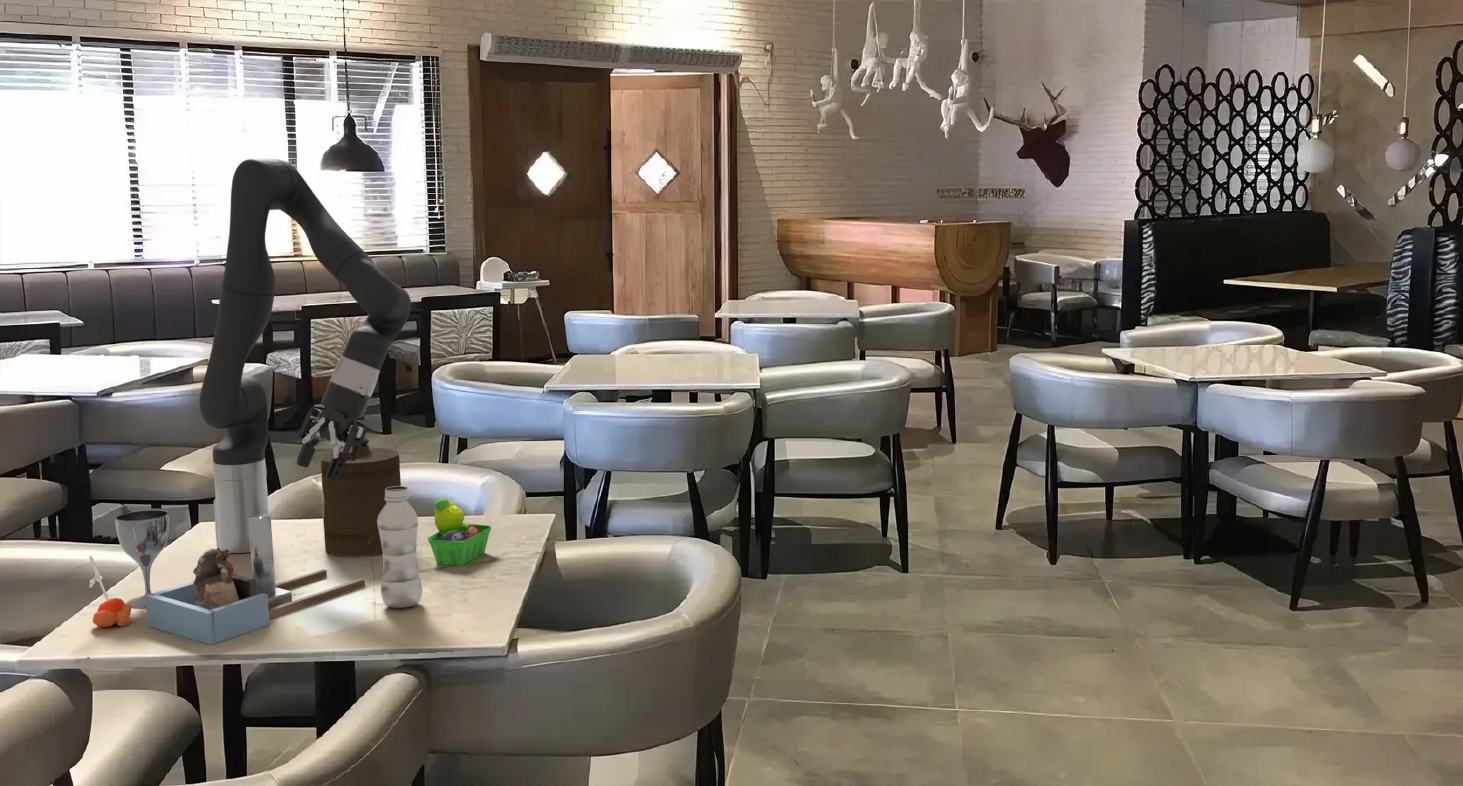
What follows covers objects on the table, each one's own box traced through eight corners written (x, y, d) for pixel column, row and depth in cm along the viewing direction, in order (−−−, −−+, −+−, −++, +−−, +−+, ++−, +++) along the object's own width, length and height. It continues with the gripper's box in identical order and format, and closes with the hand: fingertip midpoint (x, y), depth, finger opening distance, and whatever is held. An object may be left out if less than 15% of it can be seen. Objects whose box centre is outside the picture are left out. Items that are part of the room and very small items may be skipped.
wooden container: (361, 532, 250) (355, 425, 247) (420, 540, 244) (415, 431, 240) (308, 551, 237) (301, 438, 233) (369, 561, 231) (363, 445, 227)
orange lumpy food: (71, 635, 192) (65, 561, 190) (112, 615, 201) (106, 543, 200) (106, 638, 191) (100, 563, 189) (145, 617, 200) (140, 545, 198)
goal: (147, 625, 196) (145, 595, 195) (207, 607, 205) (205, 578, 204) (210, 645, 188) (207, 613, 187) (269, 624, 197) (267, 594, 196)
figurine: (208, 613, 202) (203, 542, 200) (249, 615, 201) (245, 543, 199) (184, 628, 195) (178, 555, 193) (226, 630, 194) (221, 556, 192)
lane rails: (214, 610, 203) (213, 603, 203) (323, 575, 222) (322, 569, 221) (257, 622, 198) (256, 615, 197) (365, 586, 216) (364, 579, 216)
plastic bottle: (412, 613, 202) (406, 494, 198) (374, 611, 203) (368, 492, 200) (429, 601, 208) (424, 485, 205) (392, 598, 209) (386, 483, 206)
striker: (224, 610, 203) (218, 521, 200) (267, 596, 209) (261, 510, 207) (251, 617, 199) (245, 527, 197) (294, 603, 206) (288, 515, 203)
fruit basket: (463, 568, 226) (460, 508, 224) (420, 564, 229) (418, 504, 227) (494, 551, 236) (492, 494, 235) (453, 547, 239) (451, 490, 237)
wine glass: (140, 612, 203) (133, 523, 200) (112, 603, 207) (105, 516, 204) (184, 598, 209) (178, 512, 207) (156, 590, 213) (149, 506, 211)
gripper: (310, 371, 220) (275, 457, 219) (359, 390, 212) (322, 479, 210) (343, 383, 226) (309, 466, 225) (391, 402, 218) (356, 489, 216)
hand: (315, 472), depth 217 cm, fingers open, 8 cm apart
